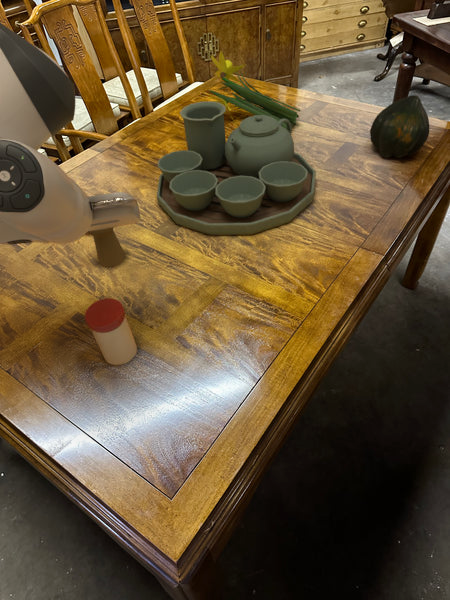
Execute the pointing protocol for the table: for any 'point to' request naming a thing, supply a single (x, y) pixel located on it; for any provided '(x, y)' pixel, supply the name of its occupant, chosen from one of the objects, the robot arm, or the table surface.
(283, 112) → the daffodil flowers
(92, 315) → the jam jar lid
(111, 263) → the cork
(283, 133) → the tea set
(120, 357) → the jam jar
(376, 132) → the squash
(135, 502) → the table surface
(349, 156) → the table surface
